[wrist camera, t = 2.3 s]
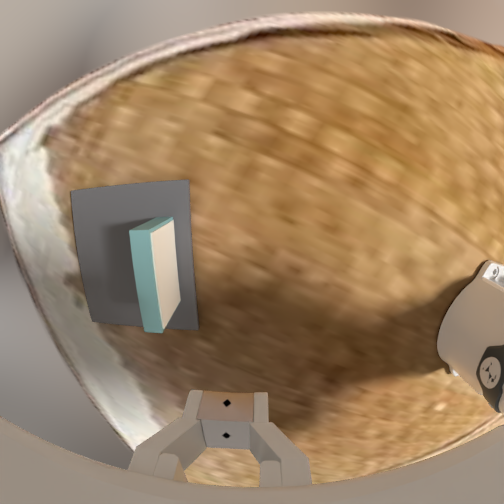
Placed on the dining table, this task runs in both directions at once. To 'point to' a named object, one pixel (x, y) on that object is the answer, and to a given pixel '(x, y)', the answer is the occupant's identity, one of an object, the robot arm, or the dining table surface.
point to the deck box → (155, 272)
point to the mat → (119, 248)
